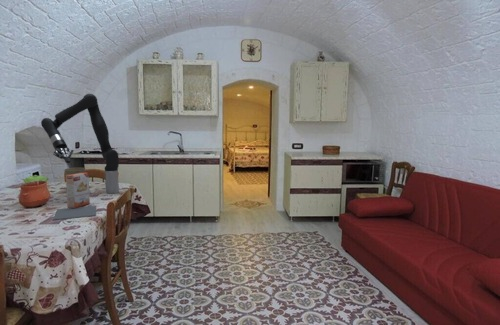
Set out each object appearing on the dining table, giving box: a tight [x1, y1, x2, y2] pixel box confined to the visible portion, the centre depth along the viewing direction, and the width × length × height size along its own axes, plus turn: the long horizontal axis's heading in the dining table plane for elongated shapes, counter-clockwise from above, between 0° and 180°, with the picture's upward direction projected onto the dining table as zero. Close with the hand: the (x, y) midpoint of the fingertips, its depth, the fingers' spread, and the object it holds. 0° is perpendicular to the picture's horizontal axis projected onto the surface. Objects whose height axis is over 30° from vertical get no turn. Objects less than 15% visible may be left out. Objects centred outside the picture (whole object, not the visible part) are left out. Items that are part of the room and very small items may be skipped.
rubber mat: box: [52, 205, 97, 221], centre depth 197 cm, size 22×22×1 cm
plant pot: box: [63, 167, 86, 176], centre depth 260 cm, size 15×15×16 cm
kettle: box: [21, 174, 50, 184], centre depth 258 cm, size 15×14×11 cm
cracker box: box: [65, 172, 91, 208], centre depth 210 cm, size 14×6×21 cm, turn 169°
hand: (68, 162), depth 214 cm, fingers closed
